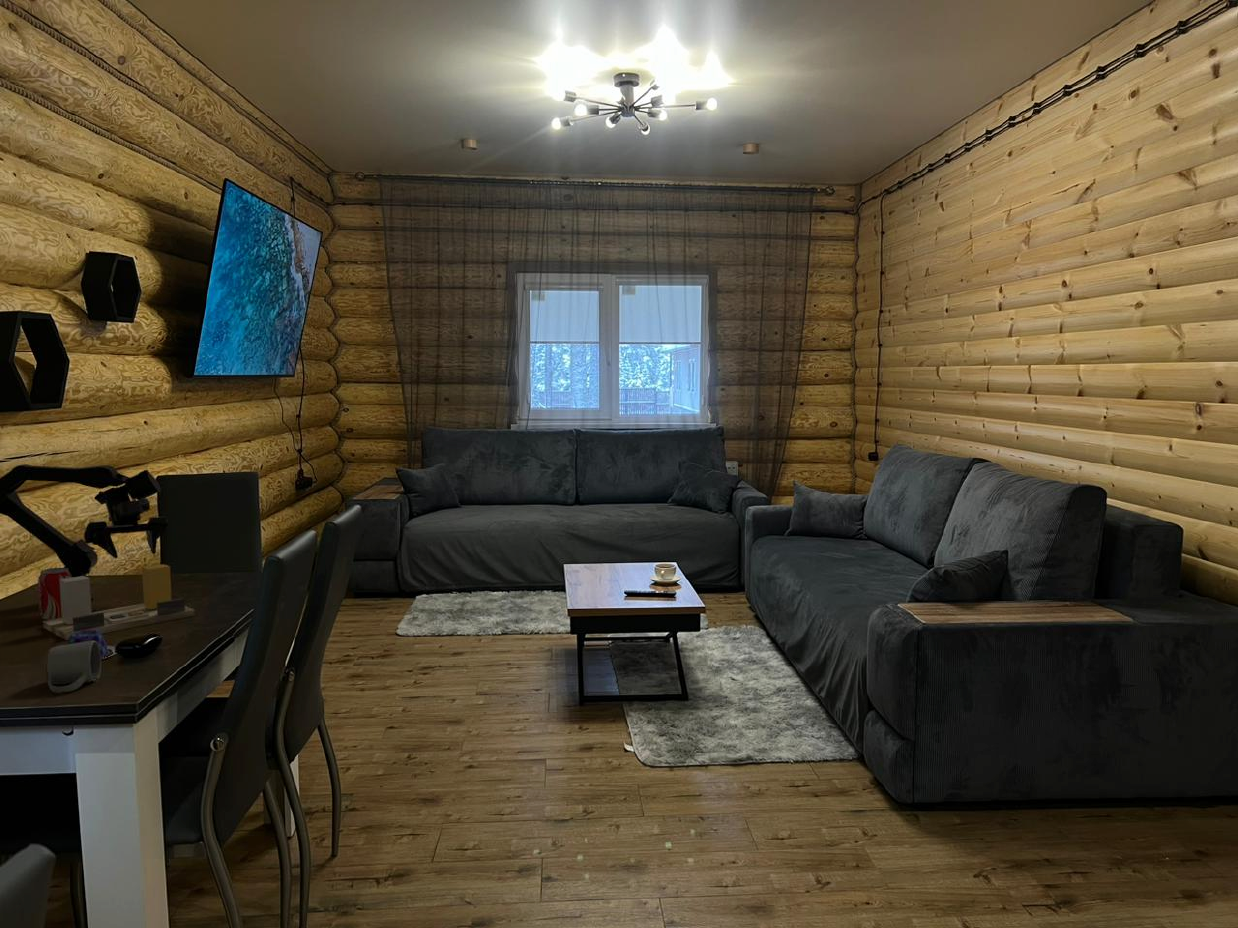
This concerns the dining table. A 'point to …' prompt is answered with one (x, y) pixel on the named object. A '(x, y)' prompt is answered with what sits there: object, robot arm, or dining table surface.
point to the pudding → (92, 636)
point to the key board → (120, 618)
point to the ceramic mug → (72, 665)
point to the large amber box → (156, 585)
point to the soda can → (51, 592)
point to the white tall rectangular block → (75, 598)
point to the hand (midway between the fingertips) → (135, 555)
